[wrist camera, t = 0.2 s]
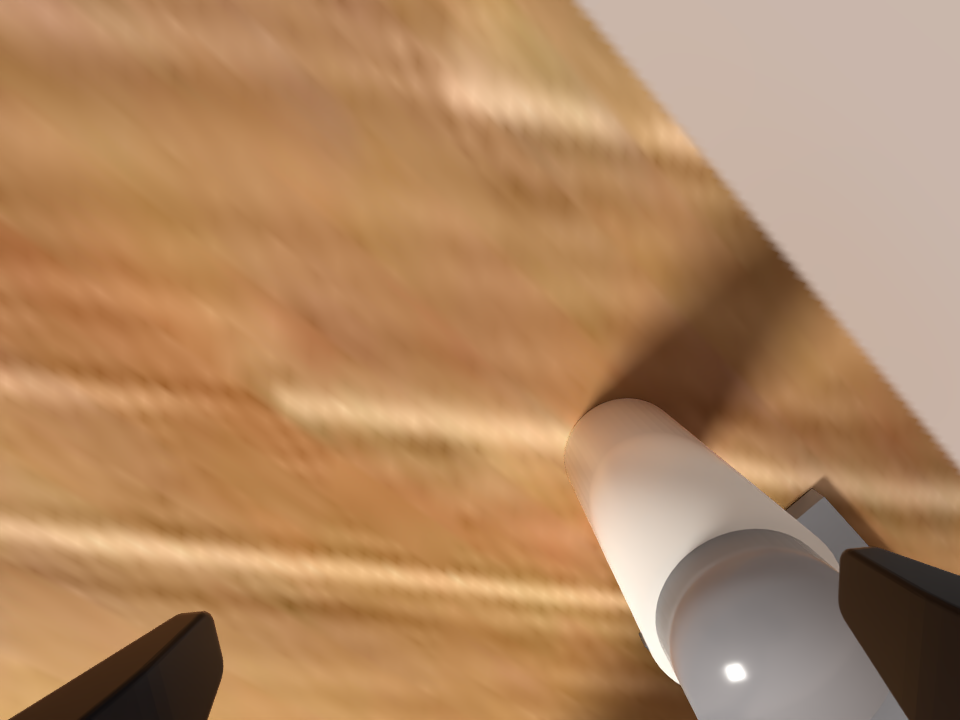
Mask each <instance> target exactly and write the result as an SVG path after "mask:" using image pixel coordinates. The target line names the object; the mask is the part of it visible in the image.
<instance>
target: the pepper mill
mask: <svg viewBox="0 0 960 720" xmlns="http://www.w3.org/2000/svg"><path fill="white" fill-rule="evenodd" d="M564 463H565V469H566V473H567V476H568V479H569V481H570V483H571V485H572V487H573V489H574V491H575V493H576V496H577V498H578V500H579V502H580V504H581V506H582V508H583V510H584V512H585V515H586V517H587V519H588V521H589V523H590V525H591V527H592V529H593V532H594V534H595V536H596V538H597V540H598V542H599V544H600V546H601V548H602V551H603V553H604V555H605V557H606V559H607V561H608V563H609V565H610V568H611V570H612V572H613V574H614V576H615V578H616V580H617V582H618V584H619V587H620V589H621V591H622V593H623V595H624V597H625V599H626V601H627V604H628V606H629V608H630V610H631V612H632V614H633V616H634V618H635V620H636V623H637V625H638V627H639V629H640V631H641V633H642V635H643V637H644V640H645V642H646V644H647V646H648V648H649V650H650V652H651V654H652V656H653V658H654V660H655V661H656V663H657V664H658V665H659V667H660V668H661V669H662V670H663V671H664V672H665V673H666V674H667V675H668V676H669V677H670V678H671V679H673V680H674V681H675V682H677V683H678V684H680V685H681V687H682V689H683V691H684V693H685V695H686V697H687V699H688V701H689V703H690V705H691V707H692V709H693V711H694V713H695V715H696V717H697V719H698V720H870V719H871V718H872V717H873V716H874V715H875V713H876V712H877V711H878V709H879V708H880V707H881V705H882V703H883V702H884V700H885V698H886V697H887V695H888V692H889V689H888V688H887V686H886V684H885V683H884V681H883V680H882V678H881V677H880V675H879V673H878V672H877V670H876V669H875V667H874V666H873V664H872V663H871V661H870V659H869V658H868V656H867V655H866V653H865V652H864V650H863V649H862V647H861V645H860V644H859V642H858V641H857V639H856V638H855V636H854V635H853V633H852V631H851V630H850V628H849V627H848V625H847V624H846V622H845V620H844V619H843V617H842V614H841V612H840V609H839V604H838V586H839V564H838V562H837V561H836V559H835V557H834V555H833V553H832V552H831V551H830V550H829V548H828V547H827V546H826V545H825V544H824V543H823V542H822V541H821V540H820V539H819V538H818V537H817V536H816V535H814V534H813V533H812V532H811V531H809V530H808V529H807V528H806V527H805V526H803V525H802V524H801V523H800V522H799V521H797V520H796V519H795V518H794V517H792V516H791V515H790V514H789V513H788V512H786V511H785V510H784V509H783V508H781V507H780V506H779V505H778V504H777V503H775V502H774V501H773V500H772V499H770V498H769V497H768V496H767V495H766V494H764V493H763V492H762V491H761V490H759V489H758V488H757V487H756V486H755V485H753V484H752V483H751V482H750V481H748V480H747V479H746V478H745V477H744V476H742V475H741V474H740V473H739V472H738V471H736V470H735V469H734V468H733V467H731V466H730V465H729V464H728V463H727V462H725V461H724V460H723V459H722V458H720V457H719V456H718V455H717V454H716V453H714V452H713V451H712V450H711V449H709V448H708V447H707V446H706V445H705V444H703V443H702V442H701V441H700V440H698V439H697V438H696V437H695V436H694V435H692V434H691V433H690V432H689V431H688V430H686V429H685V428H684V427H683V426H681V425H680V424H679V423H678V422H677V421H675V420H674V419H673V418H672V417H670V416H669V415H668V414H667V413H666V412H664V411H663V410H662V409H660V408H659V407H657V406H656V405H654V404H652V403H649V402H646V401H644V400H639V399H632V398H623V399H615V400H611V401H608V402H605V403H602V404H600V405H598V406H596V407H595V408H593V409H591V410H590V411H589V412H587V413H586V414H585V415H584V416H583V417H582V418H581V419H580V420H579V421H578V422H577V424H576V425H575V426H574V428H573V429H572V431H571V433H570V435H569V437H568V440H567V443H566V447H565V454H564Z"/></svg>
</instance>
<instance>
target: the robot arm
mask: <svg viewBox="0 0 960 720" xmlns="http://www.w3.org/2000/svg"><path fill="white" fill-rule="evenodd" d="M838 604H839V609H840V612H841V614H842V617H843V619H844V620H845V622H846V624H847V625H848V627H849V628H850V630H851V631H852V633H853V635H854V636H855V638H856V639H857V641H858V642H859V644H860V645H861V647H862V649H863V650H864V652H865V653H866V655H867V656H868V658H869V659H870V661H871V663H872V664H873V666H874V667H875V669H876V670H877V672H878V673H879V675H880V677H881V678H882V680H883V681H884V683H885V684H886V686H887V688H888V689H889V691H890V692H891V694H892V695H893V697H894V698H895V700H896V702H897V703H898V705H899V706H900V708H901V709H902V711H903V712H904V714H905V715H906V717H907V718H908V720H960V576H959V575H956V574H953V573H950V572H947V571H944V570H941V569H939V568H936V567H933V566H930V565H927V564H924V563H921V562H918V561H916V560H913V559H910V558H907V557H904V556H901V555H898V554H895V553H893V552H890V551H887V550H884V549H881V548H878V547H871V546H870V547H860V548H851V549H846V550H845V551H843V552H842V554H841V556H840V563H839V586H838ZM222 674H223V657H222V653H221V649H220V645H219V640H218V636H217V632H216V628H215V624H214V620H213V617H212V616H211V614H209V613H208V612H206V611H201V612H191V613H181V614H178V615H176V616H174V617H173V618H171V619H169V620H168V621H166V622H165V623H163V624H161V625H160V626H158V627H157V628H155V629H153V630H152V631H150V632H149V633H147V634H145V635H144V636H142V637H140V638H139V639H137V640H136V641H134V642H132V643H131V644H129V645H128V646H126V647H124V648H123V649H121V650H120V651H118V652H116V653H115V654H113V655H112V656H110V657H108V658H107V659H105V660H104V661H102V662H100V663H99V664H97V665H95V666H94V667H92V668H91V669H89V670H87V671H86V672H84V673H83V674H81V675H79V676H78V677H76V678H75V679H73V680H71V681H70V682H68V683H67V684H65V685H63V686H62V687H60V688H58V689H57V690H55V691H54V692H52V693H50V694H49V695H47V696H46V697H44V698H42V699H41V700H39V701H38V702H36V703H34V704H33V705H31V706H30V707H28V708H26V709H25V710H23V711H22V712H20V713H18V714H17V715H15V716H13V717H12V718H10V719H9V720H207V719H208V717H209V714H210V711H211V708H212V705H213V702H214V699H215V696H216V693H217V690H218V687H219V685H220V682H221V678H222Z"/></svg>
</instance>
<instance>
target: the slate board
mask: <svg viewBox="0 0 960 720" xmlns="http://www.w3.org/2000/svg"><path fill="white" fill-rule="evenodd" d="M786 512H788V513H789V514H790V515H791V516H792V517H794V518H795V519H796V520H797V521H799V522H800V523H801V524H802V525H803V526H805V527H806V528H807V529H808V530H809V531H811V532H812V533H813V534H814V535H816V536H817V537H818V538H819V539H820V540H821V541H822V542H823V543H824V544H825V545H826V546H827V547H828V548H829V550H830V551H831V552H832V553H833V555H834V557H835V559H836V561H837V562H838V564H839V563H840V556H841V554H842V552H843V551H845V550H846V549H851V548H860V547H869V546H868V545H867V544H866V543H865V541H864V540H863V539H862V538H861V537H860V536H859V535H858V534H857V533H856V531H855V530H854V529H853V528H852V527H851V526H850V525H849V524H848V523H847V521H846V520H845V519H844V518H843V517H842V516H841V515H840V514H839V513H838V511H837V510H836V509H835V508H834V507H833V506H832V505H831V504H830V503H829V501H828V500H827V499H826V498H825V497H824V496H822V495H821V494H820V493H818V492H817V491H815V490H814V489H811V490H810V491H808V492H807V493H806V494H805V495H804V496H802V497H801V498H800V499H799V500H798V501H796V502H795V503H794V504H793V505H792V506H790V507H789V508H788V509H787V510H786ZM639 635H640V638H641V640H642V642H643V644H644V646H645V647H646V648H647V649H648V650H649V648H648V646H647V644H646V642H645V640H644V637H643V635H642V633H639ZM649 651H650V650H649ZM870 720H908V718H907V717H906V715H905V714H904V712H903V711H902V709H901V708H900V706H899V705H898V703H897V702H896V700H895V698H894V697H893V695H892V694H891V692H890V691H889V692H888V695H887V697H886V698H885V700H884V702H883V703H882V705H881V707H880V708H879V709H878V711H877V712H876V713H875V715H874V716H873V717H872V718H871V719H870Z"/></svg>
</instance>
